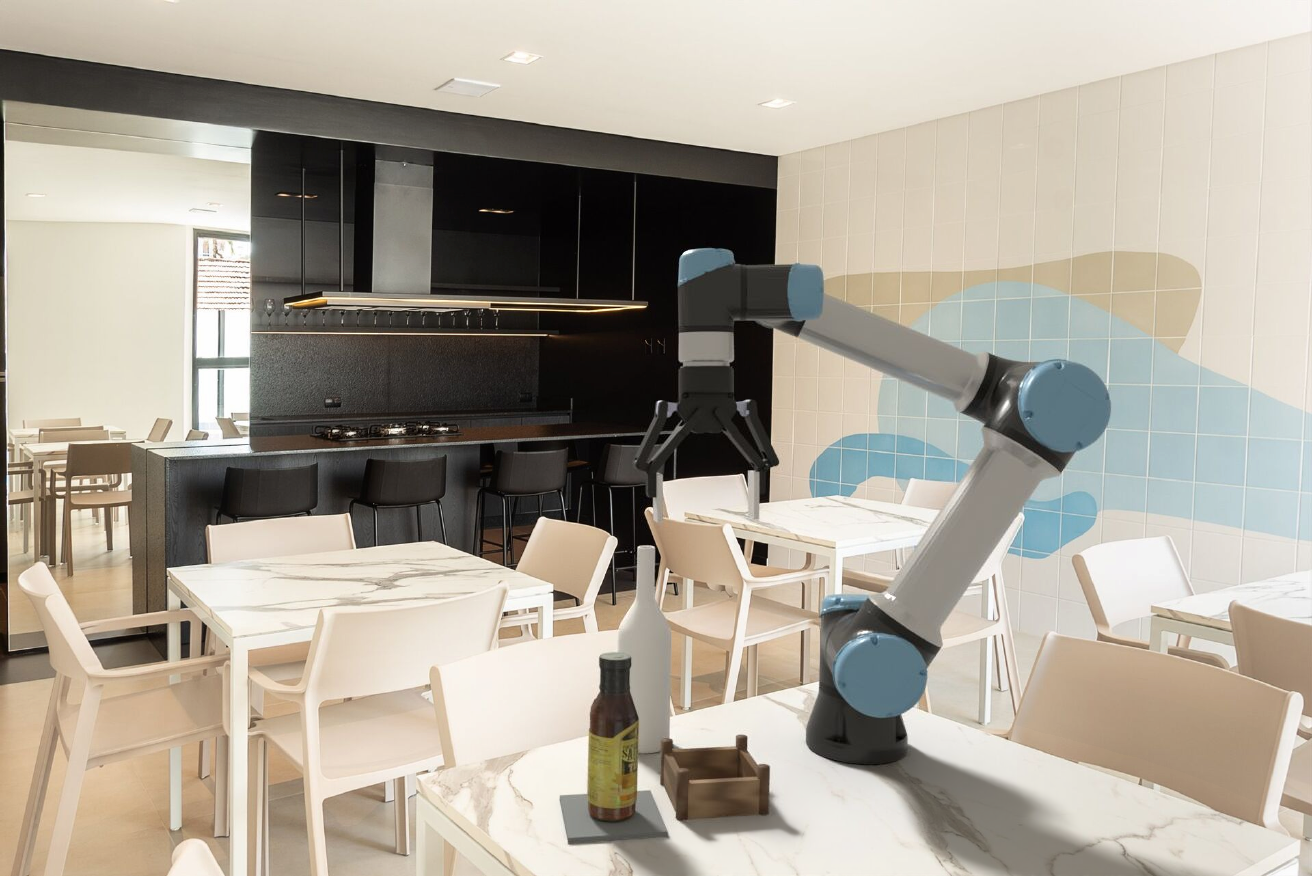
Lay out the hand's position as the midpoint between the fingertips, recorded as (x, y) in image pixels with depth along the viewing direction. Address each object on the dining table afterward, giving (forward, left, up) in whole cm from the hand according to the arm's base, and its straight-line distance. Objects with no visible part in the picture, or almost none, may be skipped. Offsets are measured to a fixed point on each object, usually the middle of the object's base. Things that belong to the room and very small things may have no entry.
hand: (706, 520), depth 134 cm
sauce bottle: (+14, +11, -35) cm, 40 cm away
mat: (+14, +11, -36) cm, 40 cm away
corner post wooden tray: (0, +7, -36) cm, 37 cm away
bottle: (+6, -13, -36) cm, 38 cm away
